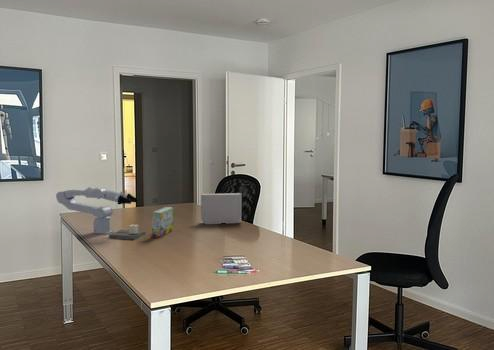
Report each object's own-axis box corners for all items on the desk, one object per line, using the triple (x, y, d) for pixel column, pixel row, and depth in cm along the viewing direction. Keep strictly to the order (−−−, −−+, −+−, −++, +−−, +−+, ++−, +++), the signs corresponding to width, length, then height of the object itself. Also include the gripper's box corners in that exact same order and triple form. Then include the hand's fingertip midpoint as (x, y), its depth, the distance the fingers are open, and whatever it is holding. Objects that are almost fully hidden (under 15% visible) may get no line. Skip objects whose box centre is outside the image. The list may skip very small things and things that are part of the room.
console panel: (109, 238, 271) (109, 234, 271) (121, 233, 284) (121, 229, 284) (134, 239, 267) (134, 236, 267) (145, 234, 281) (145, 231, 280)
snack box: (160, 238, 273) (160, 212, 271) (151, 237, 274) (151, 212, 272) (173, 230, 293) (173, 206, 292) (165, 230, 294) (164, 206, 293)
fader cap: (129, 233, 273) (129, 225, 273) (132, 232, 277) (132, 224, 277) (135, 233, 272) (135, 226, 272) (138, 232, 276) (138, 224, 276)
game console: (241, 223, 320) (242, 194, 318) (202, 224, 313) (202, 195, 311) (240, 221, 325) (240, 193, 324) (200, 222, 319) (201, 193, 317)
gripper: (108, 191, 273) (129, 195, 270) (121, 189, 287) (141, 193, 284) (106, 202, 274) (127, 207, 271) (119, 200, 288) (139, 204, 285)
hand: (134, 201), depth 278 cm, fingers open, 7 cm apart
